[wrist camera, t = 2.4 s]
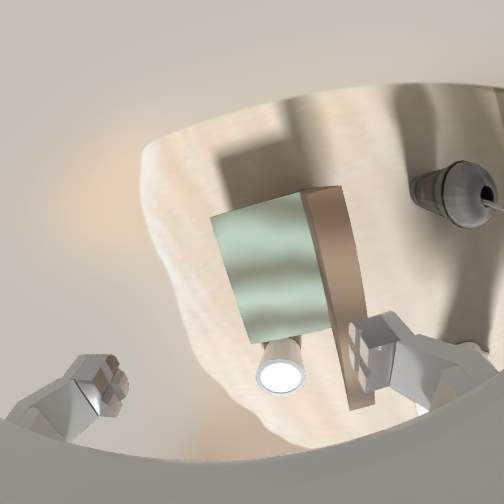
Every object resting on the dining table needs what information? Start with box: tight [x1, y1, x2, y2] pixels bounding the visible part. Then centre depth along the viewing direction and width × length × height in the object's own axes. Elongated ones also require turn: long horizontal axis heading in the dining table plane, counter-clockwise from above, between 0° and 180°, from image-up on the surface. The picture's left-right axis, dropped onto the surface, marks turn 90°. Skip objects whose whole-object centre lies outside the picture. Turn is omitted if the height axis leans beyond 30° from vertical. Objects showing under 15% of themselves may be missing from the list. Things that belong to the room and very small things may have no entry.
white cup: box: [256, 338, 306, 396], centre depth 38 cm, size 7×7×7 cm
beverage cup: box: [410, 160, 504, 228], centre depth 23 cm, size 7×7×20 cm
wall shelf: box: [210, 186, 375, 411], centre depth 27 cm, size 16×12×22 cm
